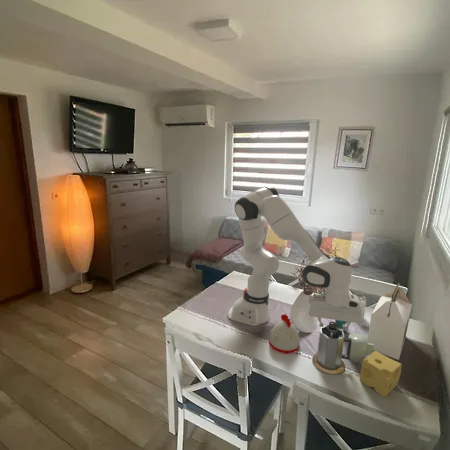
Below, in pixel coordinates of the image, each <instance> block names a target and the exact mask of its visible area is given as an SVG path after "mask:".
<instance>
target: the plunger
mask: <svg viewBox="0 0 450 450" xmlns="http://www.w3.org/2000/svg"><path fill="white" fill-rule="evenodd" d="M326 325H327V326H326V329H327V330H328V331H329V332H331V336H330V338H332V337H333V333H337V332H338V331H339V328H338V327H337V323H335V321H329V322H328V324H326Z"/></svg>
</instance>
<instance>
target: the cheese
mask: <svg viewBox="0 0 450 450" xmlns="http://www.w3.org/2000/svg"><path fill="white" fill-rule="evenodd" d="M401 372H402V363H401V362H398V360H394V359H393V358H391V357H389V356H387V355H384V354H381V353H379V352H377V351H374V350H373V353H372V354H371V355H368V356H367V357H365V359H364V360H363V362H361V369H360V374H359V381H360V382H361V383H363V384H364V385H366V386H367V387H369V388H374V391H375V392H376V393H378V394H379V395H380V396H382V397H383V398H386V397H387V396H388V394H389V393H391V392H392V391H393V390H394V388H397V386H398V383H399V380H400V377H401V374H402V373H401Z"/></svg>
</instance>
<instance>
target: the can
mask: <svg viewBox="0 0 450 450" xmlns="http://www.w3.org/2000/svg"><path fill="white" fill-rule="evenodd" d="M355 295H356V296H358V298H359V300H360V303H361V306H360V307H361V310H362V321H363V320H364V318H365V314H366V307H367V298H366V297H365V296H364V295H361V294H355Z"/></svg>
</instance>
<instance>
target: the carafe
mask: <svg viewBox="0 0 450 450" xmlns="http://www.w3.org/2000/svg"><path fill="white" fill-rule="evenodd" d="M327 325H328V324H326V325H323V327H319V336H318V344H317V351H316V353H314V354H313V355H312V359H311V360H312V364H313V366H314V367H315V368H316V369H317V370H318V371H320V372H322V373H325V374H328V375H333V376H334V375H340V374H342V373H343V372H344V371H345V368H346V365H345V362H344V361H343V359H344V360H350V359H349V357H350V350H351V343H352V340H351V338H349V337H345V333H344V332H345V331H342V330H340V329H339V331H338V332H337V333H333V337H332V338H330V336H331V332H329V331H328V330H327V329H326V326H327ZM344 342H346V343H347V345H348V346H347V345H346V352H347V353H345V354H344V353H343V350H344V344H345V343H344Z"/></svg>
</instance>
